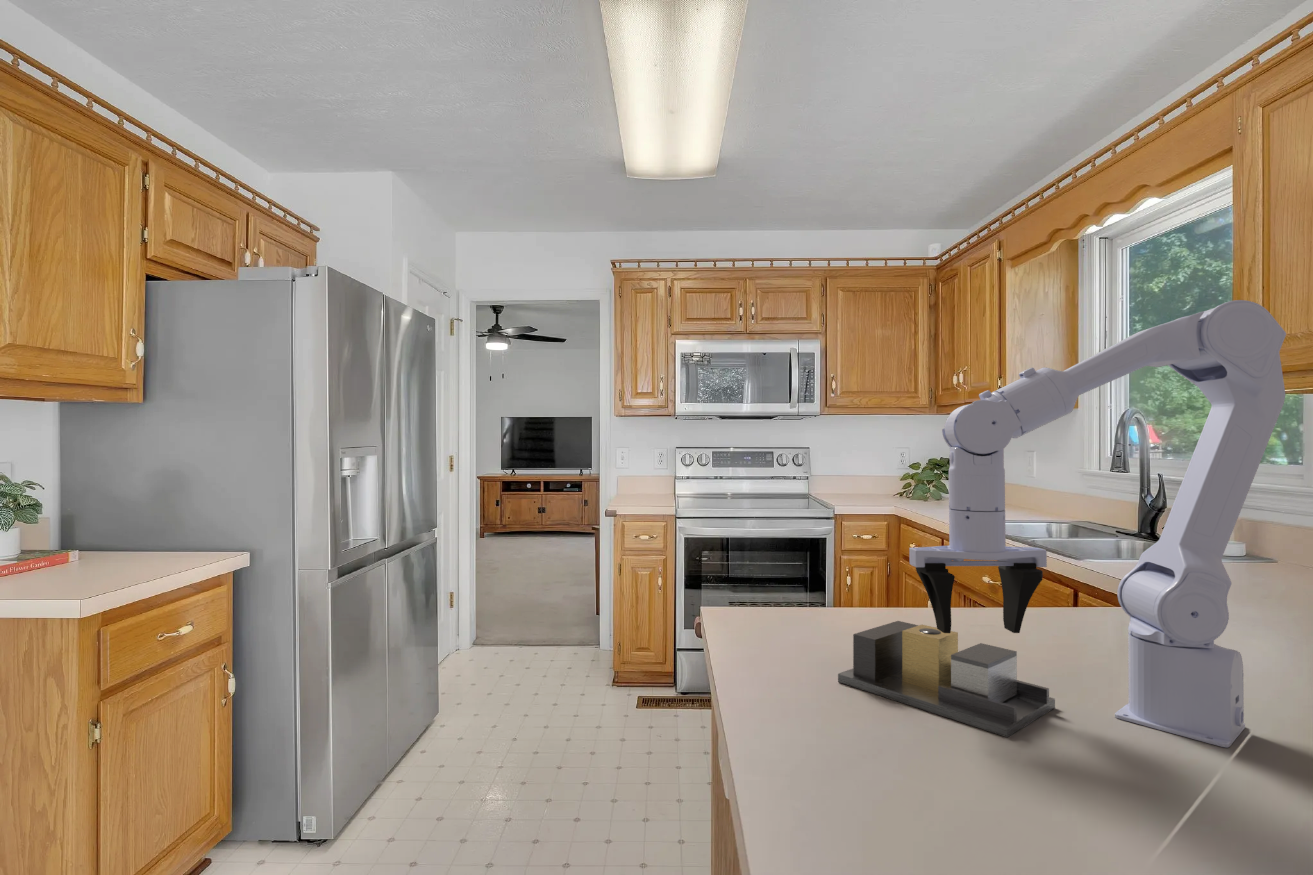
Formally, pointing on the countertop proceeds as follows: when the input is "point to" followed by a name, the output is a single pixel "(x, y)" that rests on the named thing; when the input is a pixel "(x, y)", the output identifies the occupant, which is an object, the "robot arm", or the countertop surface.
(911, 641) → the housing
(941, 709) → the press bed
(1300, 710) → the countertop surface
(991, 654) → the block
